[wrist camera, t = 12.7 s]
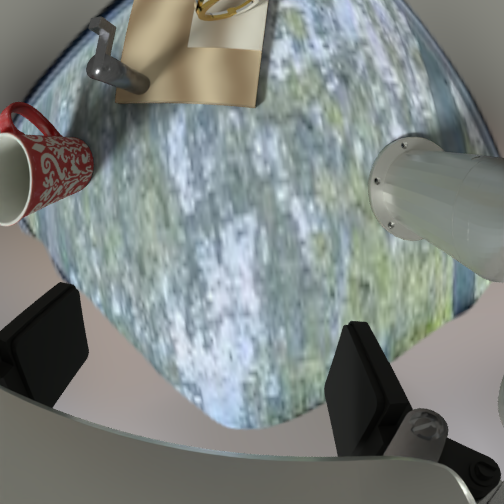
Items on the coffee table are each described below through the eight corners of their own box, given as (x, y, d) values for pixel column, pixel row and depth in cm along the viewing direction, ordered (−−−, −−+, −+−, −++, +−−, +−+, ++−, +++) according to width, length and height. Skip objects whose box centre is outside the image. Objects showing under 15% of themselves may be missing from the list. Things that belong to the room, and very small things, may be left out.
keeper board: (271, -23, 26) (272, -29, 24) (255, 108, 31) (254, 105, 30) (145, -20, 26) (140, -26, 24) (120, 103, 31) (113, 102, 30)
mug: (107, 191, 35) (40, 216, 22) (54, 207, 36) (-14, 234, 23) (91, 95, 31) (22, 81, 18) (39, 119, 32) (-32, 119, 19)
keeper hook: (155, 52, 28) (108, 15, 17) (148, 94, 30) (96, 73, 18) (135, 53, 28) (84, 20, 17) (129, 95, 30) (72, 76, 18)
